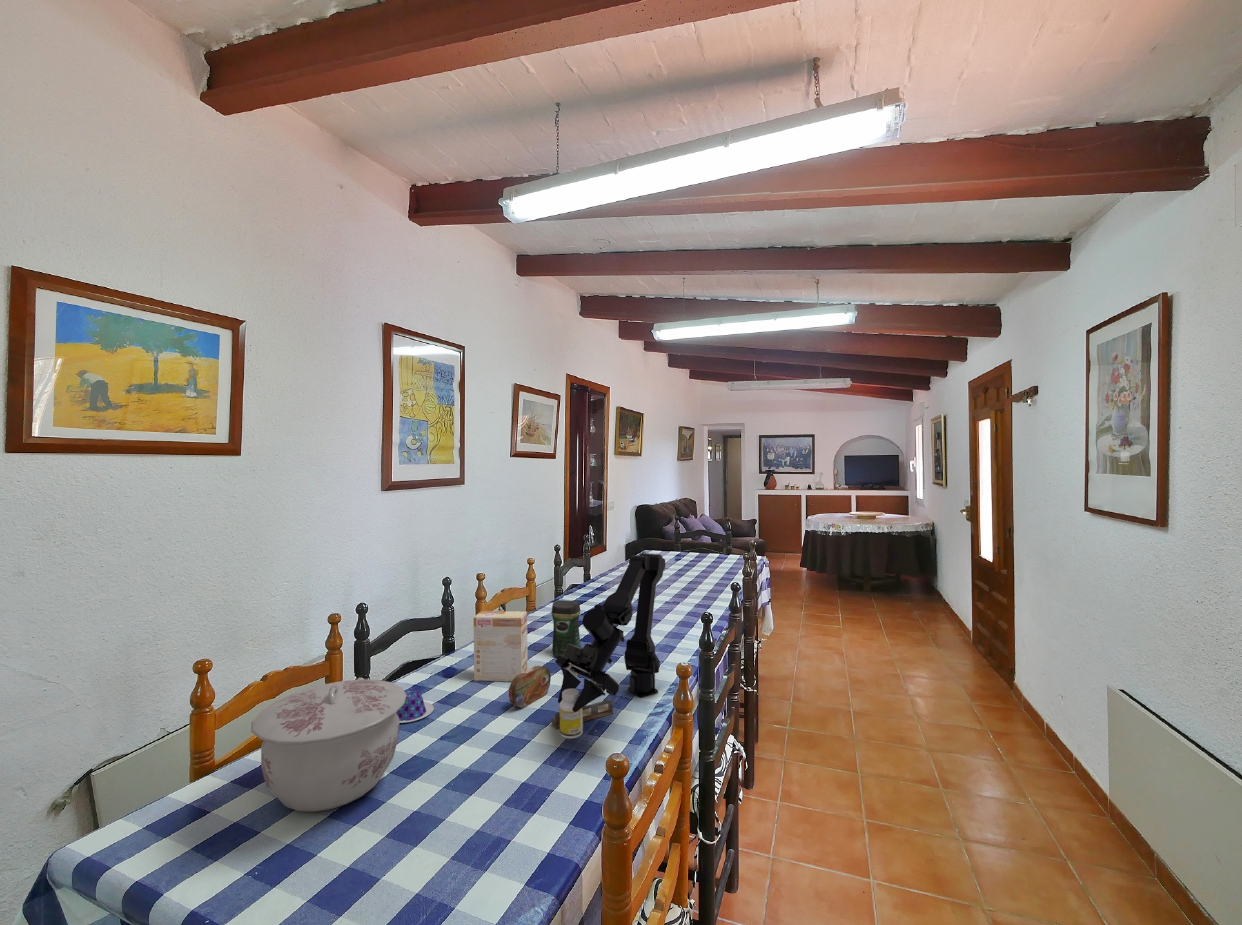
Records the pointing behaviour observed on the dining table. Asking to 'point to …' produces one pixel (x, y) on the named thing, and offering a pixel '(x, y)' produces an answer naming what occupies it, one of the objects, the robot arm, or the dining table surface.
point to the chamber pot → (329, 742)
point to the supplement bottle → (570, 715)
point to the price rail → (590, 712)
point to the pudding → (414, 707)
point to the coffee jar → (565, 625)
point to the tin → (529, 686)
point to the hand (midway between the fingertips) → (566, 707)
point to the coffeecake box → (500, 645)
